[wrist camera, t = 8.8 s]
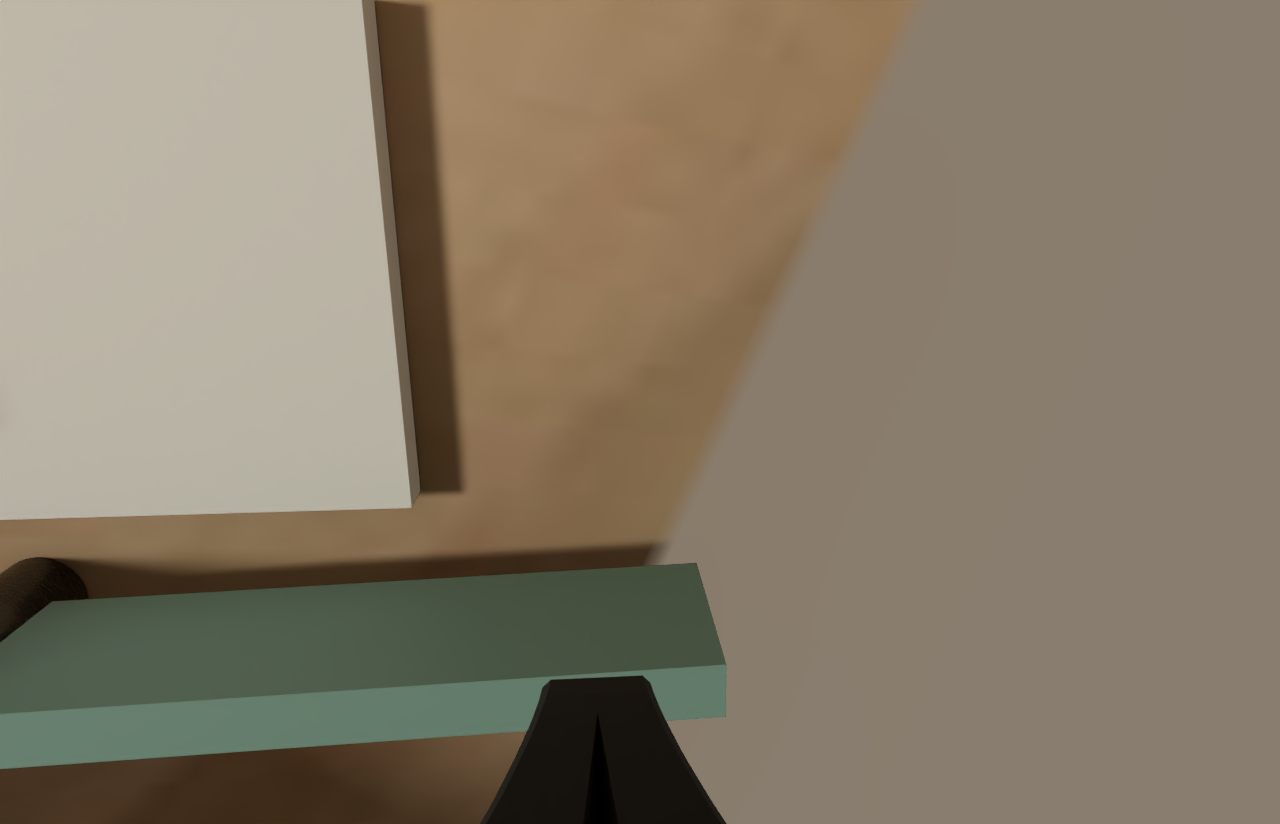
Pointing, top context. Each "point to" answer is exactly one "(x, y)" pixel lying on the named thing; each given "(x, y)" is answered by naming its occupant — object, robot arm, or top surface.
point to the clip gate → (345, 662)
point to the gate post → (34, 590)
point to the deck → (198, 261)
